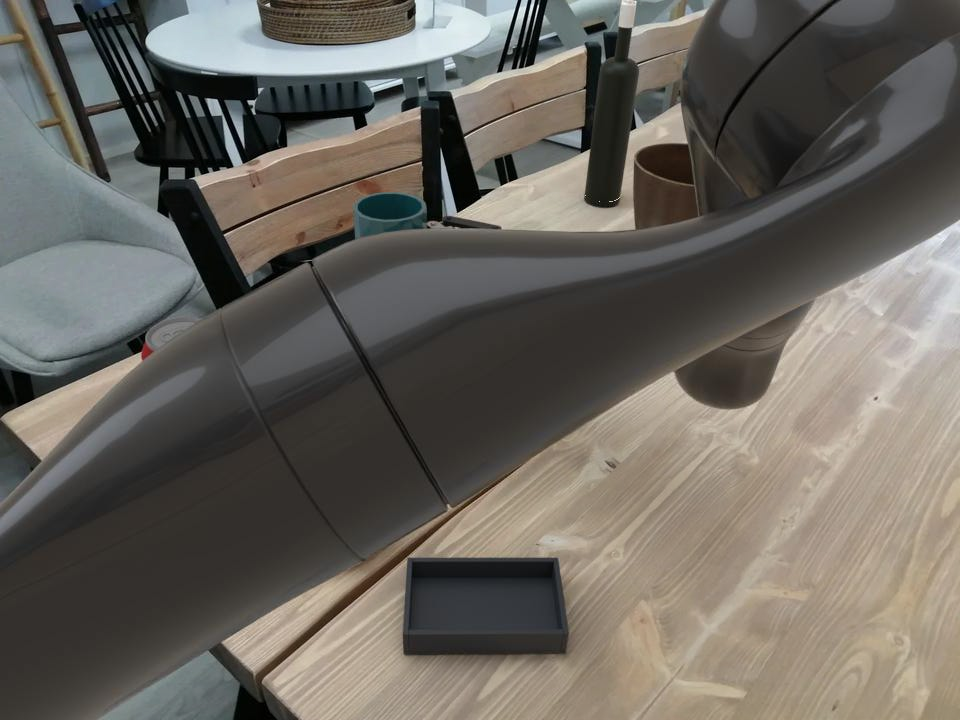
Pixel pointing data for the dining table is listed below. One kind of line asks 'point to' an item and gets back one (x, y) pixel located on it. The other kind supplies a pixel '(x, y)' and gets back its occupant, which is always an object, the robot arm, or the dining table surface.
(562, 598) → the tray
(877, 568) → the dining table surface
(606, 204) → the wine bottle
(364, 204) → the cup
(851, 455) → the dining table surface
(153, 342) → the beverage can
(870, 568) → the dining table surface
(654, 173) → the flower pot
